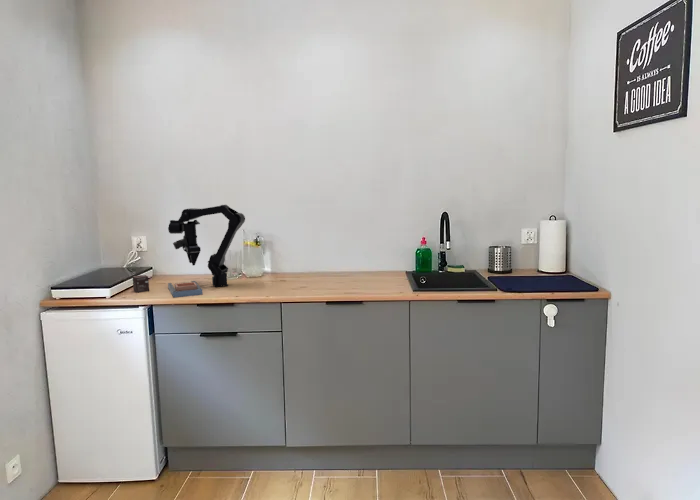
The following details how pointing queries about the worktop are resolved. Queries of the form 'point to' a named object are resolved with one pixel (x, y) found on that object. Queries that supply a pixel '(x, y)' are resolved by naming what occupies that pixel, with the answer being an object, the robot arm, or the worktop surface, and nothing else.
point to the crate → (185, 286)
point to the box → (140, 283)
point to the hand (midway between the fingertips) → (192, 264)
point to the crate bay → (185, 291)
